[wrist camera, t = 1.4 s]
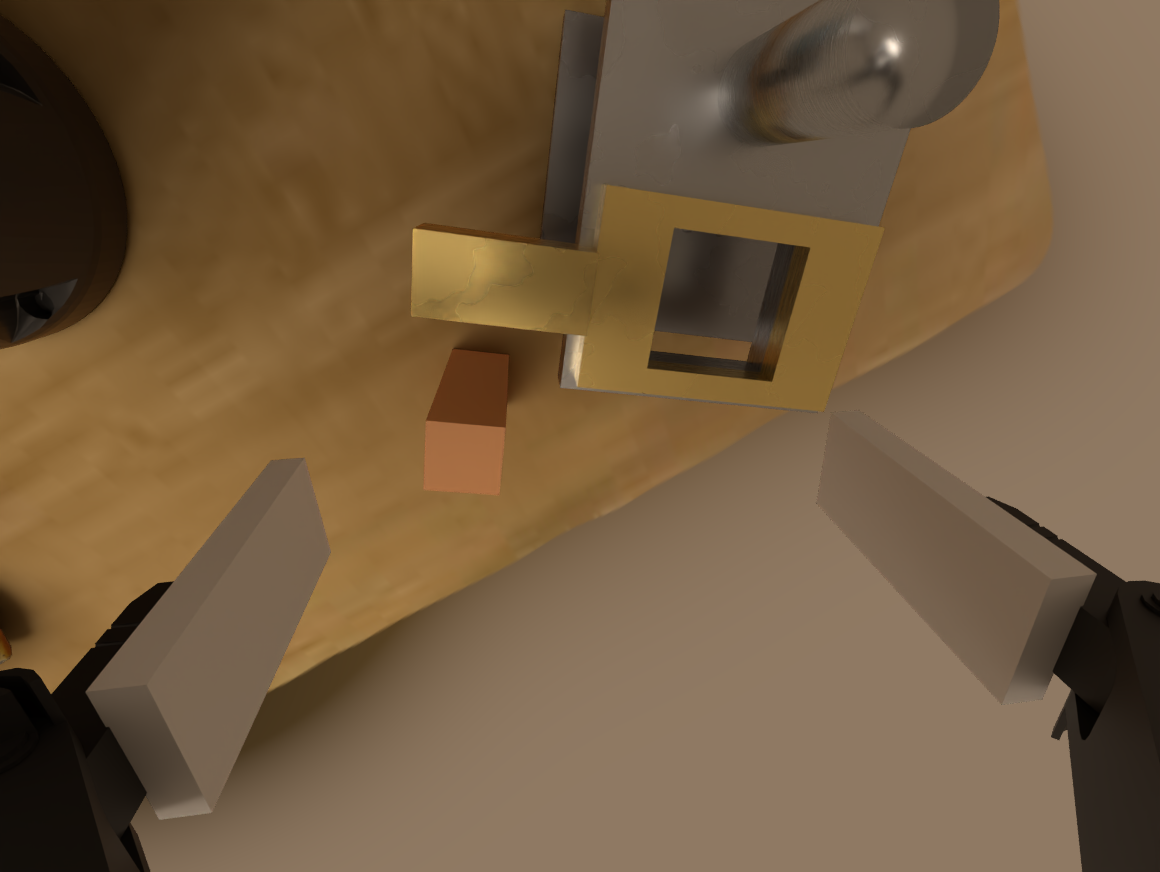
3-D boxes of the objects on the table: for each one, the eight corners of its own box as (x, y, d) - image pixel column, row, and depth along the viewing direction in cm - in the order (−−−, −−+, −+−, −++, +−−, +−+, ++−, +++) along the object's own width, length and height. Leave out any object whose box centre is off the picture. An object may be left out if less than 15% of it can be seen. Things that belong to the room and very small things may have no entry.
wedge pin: (450, 400, 32) (423, 489, 23) (453, 348, 31) (425, 420, 22) (504, 406, 32) (499, 495, 23) (509, 354, 31) (505, 427, 22)
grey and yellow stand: (444, 320, 30) (365, 474, 14) (461, -48, 24) (354, -473, 8) (758, 355, 33) (980, 519, 17) (845, 32, 26) (1320, -178, 11)
